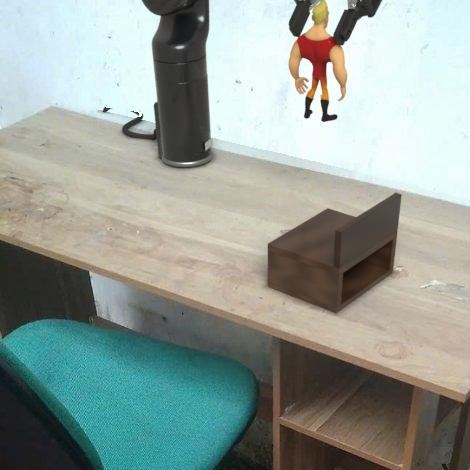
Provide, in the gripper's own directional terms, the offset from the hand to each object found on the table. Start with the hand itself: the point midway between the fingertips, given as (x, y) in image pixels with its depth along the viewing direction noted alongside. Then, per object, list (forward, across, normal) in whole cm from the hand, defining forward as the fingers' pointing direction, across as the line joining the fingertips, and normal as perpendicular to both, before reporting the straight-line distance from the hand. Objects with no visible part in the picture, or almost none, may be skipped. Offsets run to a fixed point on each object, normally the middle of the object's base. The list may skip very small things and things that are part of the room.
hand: (315, 37), depth 109 cm
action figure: (+7, 0, +9) cm, 11 cm away
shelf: (+28, +13, +9) cm, 32 cm away
